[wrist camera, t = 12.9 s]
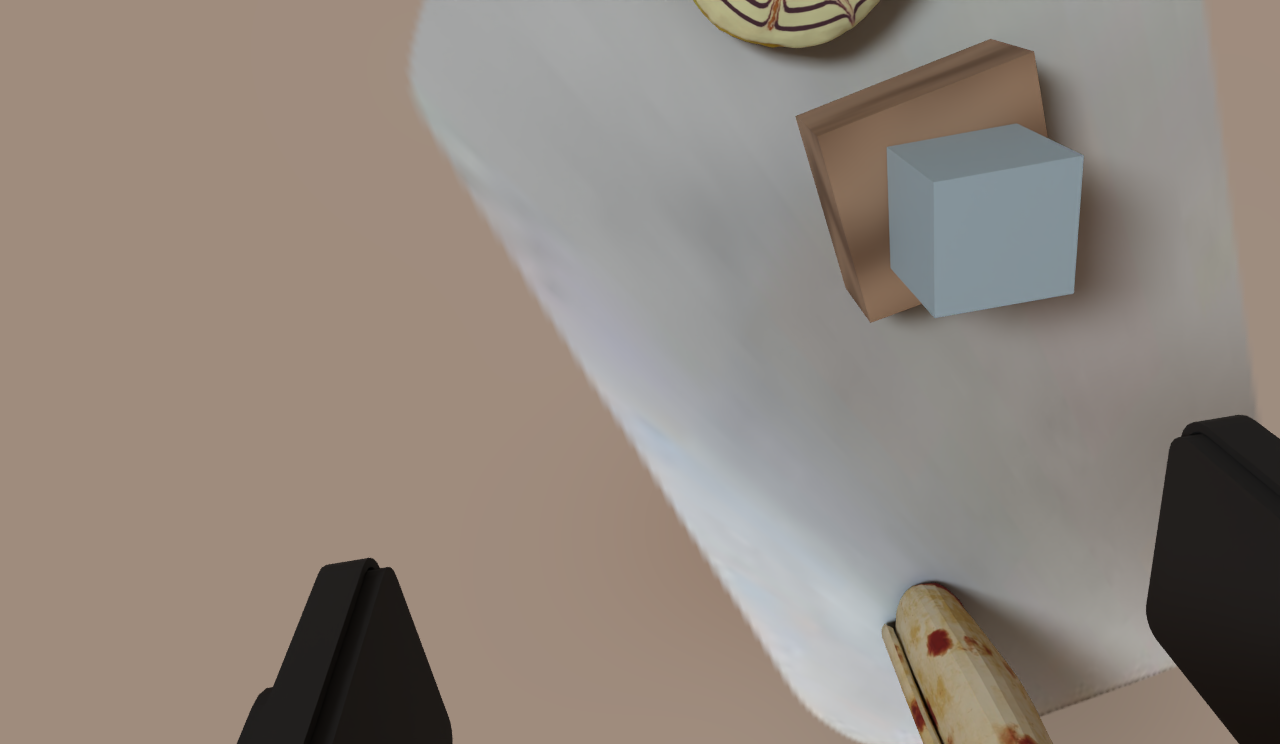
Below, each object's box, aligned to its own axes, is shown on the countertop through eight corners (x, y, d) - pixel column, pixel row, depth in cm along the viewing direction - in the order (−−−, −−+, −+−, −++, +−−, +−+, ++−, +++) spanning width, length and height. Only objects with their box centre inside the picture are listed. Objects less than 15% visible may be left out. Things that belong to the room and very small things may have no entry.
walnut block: (793, 114, 44) (817, 136, 40) (987, 38, 43) (1034, 51, 39) (844, 286, 49) (870, 322, 44) (1021, 220, 48) (1066, 251, 43)
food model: (979, 653, 62) (1137, 948, 44) (886, 678, 63) (1007, 978, 45) (961, 550, 58) (1130, 831, 40) (862, 577, 58) (985, 866, 40)
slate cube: (886, 146, 40) (933, 182, 35) (1016, 123, 40) (1083, 155, 35) (890, 268, 43) (934, 318, 38) (1012, 246, 43) (1073, 293, 38)
